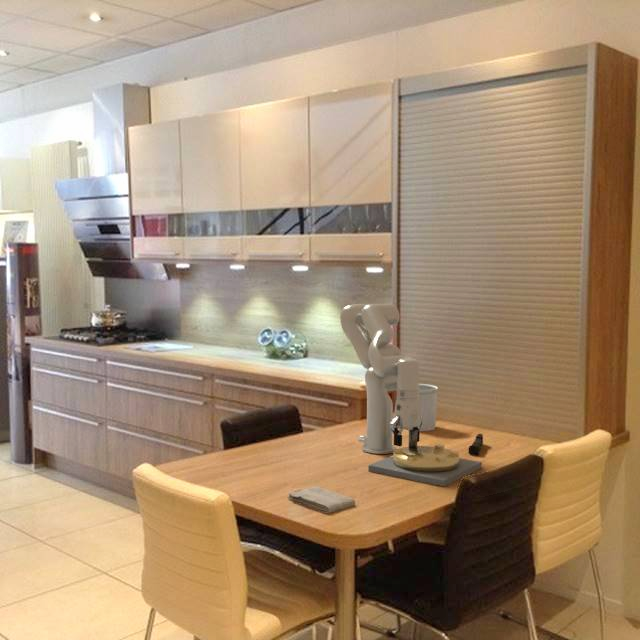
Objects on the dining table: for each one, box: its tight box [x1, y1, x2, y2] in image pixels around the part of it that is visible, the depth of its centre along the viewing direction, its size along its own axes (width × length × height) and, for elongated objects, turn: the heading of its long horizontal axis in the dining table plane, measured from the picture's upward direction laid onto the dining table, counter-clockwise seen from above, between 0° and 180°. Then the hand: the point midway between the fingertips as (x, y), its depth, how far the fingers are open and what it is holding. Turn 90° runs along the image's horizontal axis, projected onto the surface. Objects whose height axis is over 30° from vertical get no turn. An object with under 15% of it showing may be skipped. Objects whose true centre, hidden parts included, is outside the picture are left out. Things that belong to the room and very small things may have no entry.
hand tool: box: [468, 433, 484, 456], centre depth 289 cm, size 19×4×5 cm, turn 158°
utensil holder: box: [407, 383, 439, 432], centre depth 324 cm, size 15×15×18 cm
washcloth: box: [287, 485, 356, 514], centre depth 224 cm, size 12×18×3 cm, turn 45°
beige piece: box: [392, 429, 460, 472], centre depth 260 cm, size 22×22×9 cm
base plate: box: [367, 455, 483, 487], centre depth 261 cm, size 28×28×2 cm
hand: (406, 443), depth 267 cm, fingers open, 9 cm apart
